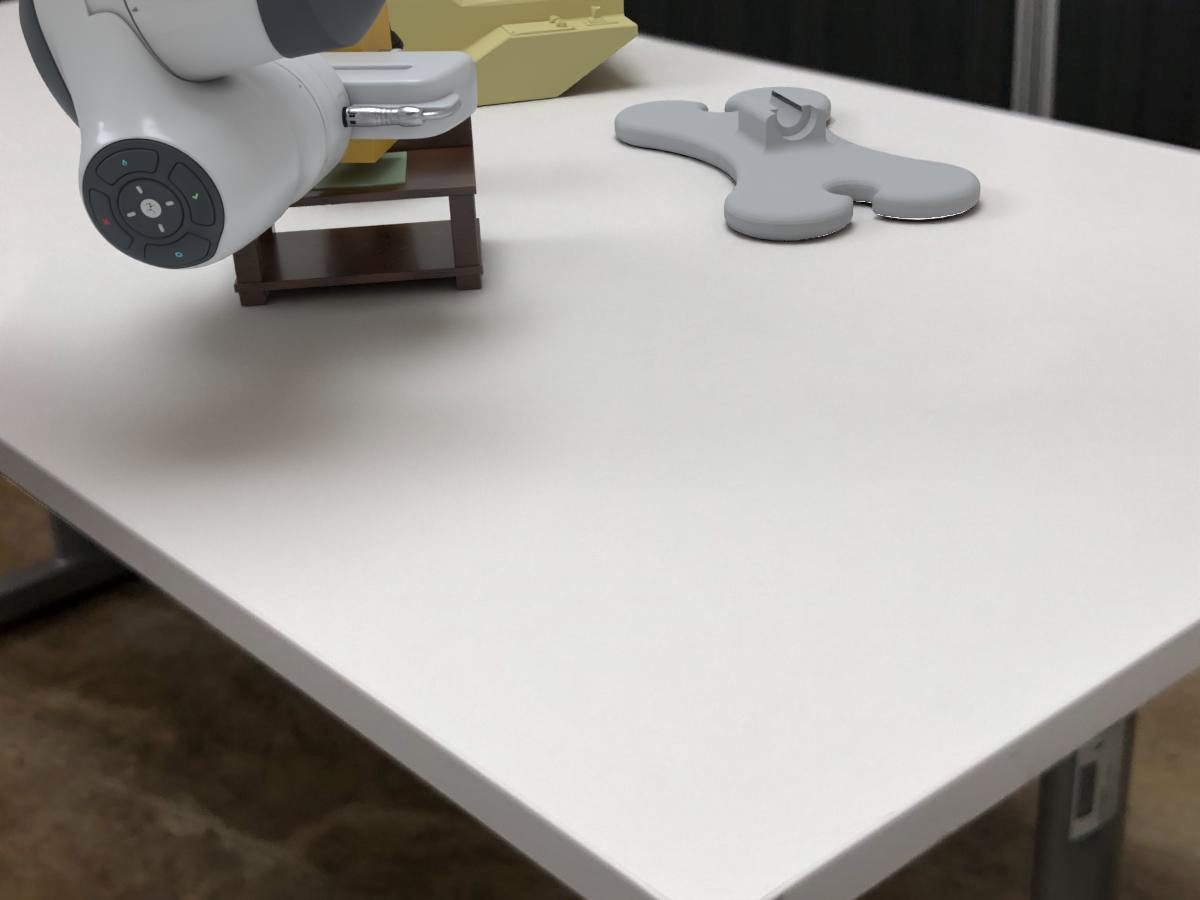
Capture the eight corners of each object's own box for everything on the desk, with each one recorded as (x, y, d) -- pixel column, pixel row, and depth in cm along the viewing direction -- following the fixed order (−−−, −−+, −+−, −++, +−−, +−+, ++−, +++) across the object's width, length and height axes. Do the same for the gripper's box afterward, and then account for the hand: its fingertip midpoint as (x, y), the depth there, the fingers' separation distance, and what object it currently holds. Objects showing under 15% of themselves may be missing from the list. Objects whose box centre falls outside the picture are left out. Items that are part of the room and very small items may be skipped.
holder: (804, 102, 140) (804, 46, 138) (1003, 212, 111) (1008, 143, 109) (601, 129, 135) (598, 71, 133) (753, 250, 106) (753, 179, 104)
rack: (237, 307, 101) (215, 172, 97) (253, 255, 110) (234, 129, 106) (484, 289, 102) (473, 154, 98) (481, 239, 111) (470, 113, 107)
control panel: (400, -43, 135) (358, -94, 151) (387, 132, 142) (348, 65, 159) (657, -25, 143) (591, -76, 159) (632, 139, 150) (572, 75, 167)
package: (299, 162, 100) (277, 3, 96) (330, 136, 105) (310, -16, 101) (374, 162, 99) (356, 1, 95) (401, 136, 104) (385, -18, 100)
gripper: (441, 62, 85) (499, 9, 97) (92, 64, 89) (189, 13, 101) (451, 174, 88) (506, 110, 100) (113, 172, 92) (205, 110, 104)
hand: (345, 61), depth 101 cm, fingers closed on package, 5 cm apart
